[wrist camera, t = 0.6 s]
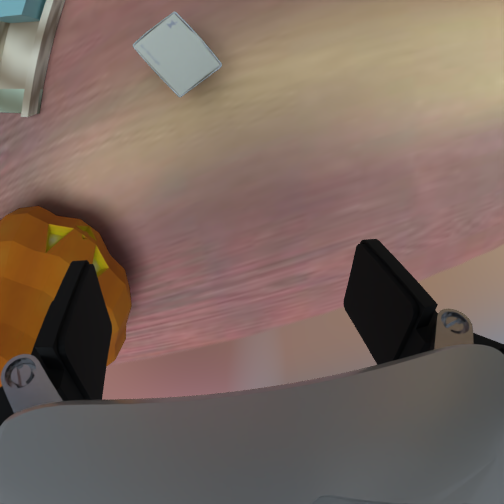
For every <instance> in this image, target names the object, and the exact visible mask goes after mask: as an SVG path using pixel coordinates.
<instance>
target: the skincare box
mask: <svg viewBox="0 0 504 504" xmlns="http://www.w3.org/2000/svg"><path fill="white" fill-rule="evenodd" d="M133 47H134V49H135V50H136V51H137V52H138V54H139V55H140V56H141V57H142V58H143V59H144V60H145V62H146V63H147V64H148V65H149V66H150V67H151V68H152V69H153V70H154V71H155V73H156V74H157V75H158V76H159V77H160V78H161V79H162V80H163V81H164V82H165V83H166V84H167V85H168V86H169V87H170V88H171V90H172V91H173V92H174V93H175V94H176V95H177V96H178V97H182V96H183V95H184V94H186V93H187V92H188V91H190V90H191V89H192V88H194V87H195V86H197V85H198V84H199V83H201V82H202V81H203V80H205V79H206V78H207V77H209V76H210V75H211V74H213V73H214V72H215V71H217V70H218V69H219V68H221V67H222V63H221V62H220V61H219V59H218V58H217V57H216V56H215V54H214V53H213V52H212V51H211V50H210V48H209V47H208V46H207V45H206V44H205V42H204V41H203V40H202V39H201V38H200V37H199V36H198V35H197V33H196V32H195V31H194V30H193V29H192V28H191V27H190V26H189V25H188V24H187V23H186V22H185V21H184V20H183V19H182V18H181V17H180V16H179V15H178V14H177V12H173V13H172V14H170V15H169V16H167V17H166V18H165V19H163V20H162V21H161V22H159V23H158V24H157V25H155V26H154V27H153V28H151V29H150V30H149V31H148V32H146V33H145V34H144V35H143V36H142V37H141V38H140V39H138V40H137V41H136V42H135V43H134V44H133Z"/></svg>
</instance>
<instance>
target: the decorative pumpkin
mask: <svg viewBox="0 0 504 504" xmlns="http://www.w3.org/2000/svg"><path fill="white" fill-rule="evenodd" d="M80 260H88V262H89V264H93V265H94V266H95V270H96V273H97V277H98V281H99V284H100V288H101V291H102V294H103V298H104V301H105V304H106V308H107V311H108V314H109V317H110V320H111V323H112V335H111V341H110V347H109V353H108V359H107V365H109V364H110V363H112V362H113V361H114V360H115V359H116V357H117V355H118V353H119V351H120V349H121V347H122V345H123V343H124V341H125V339H126V323H127V319H128V316H129V312H130V309H131V306H132V305H131V296H130V288H129V284H128V280H127V276H126V272H125V269H124V268H123V267H122V266H121V265H120V264H119V263H118V262H117V261H116V260H115V259H114V258H113V257H112V256H111V255H110V254H109V252H108V250H107V248H106V246H105V244H104V242H103V240H102V238H101V236H100V234H99V233H98V232H97V231H96V230H94V229H93V228H92V227H90V226H89V225H88V224H86V223H85V222H84V221H82V220H81V219H76V218H68V217H61V216H57V215H55V214H53V213H52V212H50V211H48V210H46V209H44V208H42V207H40V206H34V207H26V208H19V209H17V210H15V211H13V212H12V213H10V214H8V215H6V216H5V217H4V218H3V219H1V220H0V377H1V372H2V369H3V367H4V366H5V364H6V363H7V362H8V361H9V360H10V359H12V358H13V357H15V356H18V355H21V354H30V355H31V353H32V350H33V347H34V344H35V342H36V339H37V336H38V334H39V331H40V328H41V326H42V323H43V321H44V318H45V316H46V314H47V311H48V309H49V306H50V304H51V302H52V301H53V300H54V298H55V296H56V294H57V291H58V289H59V287H60V285H61V283H62V280H63V278H64V276H65V274H66V272H67V270H68V268H69V265H70V263H71V262H72V261H80ZM107 365H106V366H107ZM1 386H2V384H1V379H0V387H1Z"/></svg>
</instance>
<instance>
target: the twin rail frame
mask: <svg viewBox="0 0 504 504" xmlns="http://www.w3.org/2000/svg"><path fill="white" fill-rule="evenodd" d="M64 3H65V0H46V2H45V5H44V8H43V11H42V15H41V18H40V21H34V22H20V23H7V22H2V21H0V112H6V113H21V117H29V116H32V115H35V114H38V113H40V106H41V99H42V93H43V87H44V81H45V76H46V71H47V66H48V61H49V57H50V52H51V48H52V44H53V40H54V36H55V32H56V29H57V25H58V22H59V18H60V15H61V12H62V9H63V6H64Z"/></svg>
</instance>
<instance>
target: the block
mask: <svg viewBox="0 0 504 504" xmlns="http://www.w3.org/2000/svg"><path fill="white" fill-rule="evenodd" d="M45 2H46V0H0V21H2V22H7V23H20V22H34V21H40V18H41V15H42V11H43V8H44V5H45Z"/></svg>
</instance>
